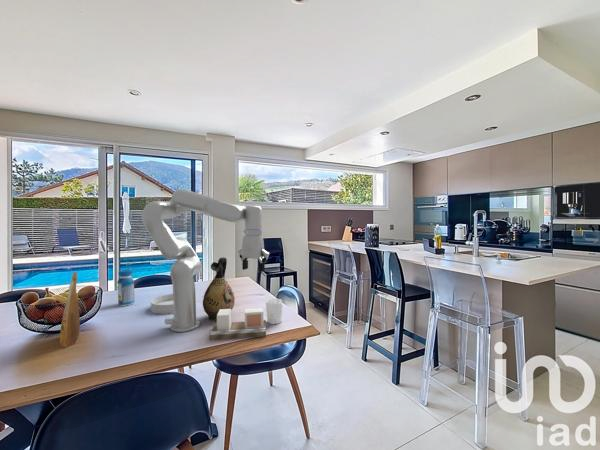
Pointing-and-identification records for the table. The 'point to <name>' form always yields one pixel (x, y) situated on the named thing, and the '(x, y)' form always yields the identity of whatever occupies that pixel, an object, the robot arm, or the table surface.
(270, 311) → the white cup
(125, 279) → the beverage bottle
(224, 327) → the turned carton
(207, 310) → the ceramic jug
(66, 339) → the pancake mix bag
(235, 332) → the grey rectangular tray
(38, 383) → the table surface
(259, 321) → the carton
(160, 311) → the dish
